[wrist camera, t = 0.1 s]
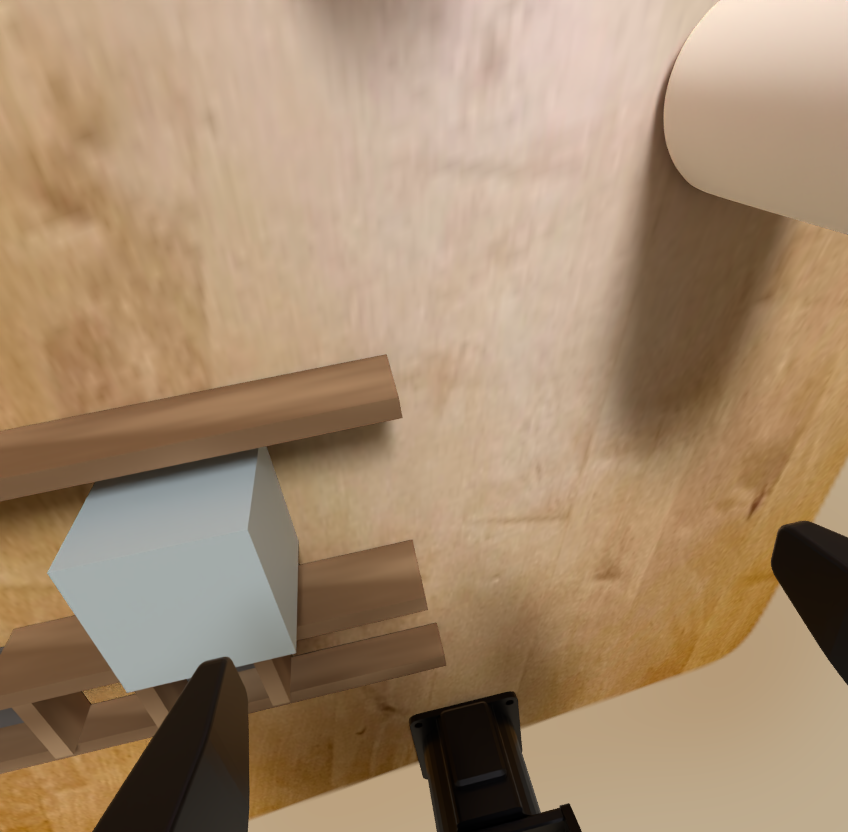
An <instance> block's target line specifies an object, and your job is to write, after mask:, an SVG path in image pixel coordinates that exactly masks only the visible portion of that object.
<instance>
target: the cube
mask: <svg viewBox="0 0 848 832" xmlns="http://www.w3.org/2000/svg"><path fill="white" fill-rule="evenodd" d="M298 546H299V541H298V538H297V535H296V532H295V529H294V526H293V523H292V520H291V517H290V514H289V511H288V508H287V505H286V502H285V499H284V497H283V494H282V491H281V488H280V485H279V482H278V479H277V476H276V473H275V470H274V467H273V464H272V461H271V458H270V455H269V452H268V449H267V446H265V447H260V448H255V449H250V450H245V451H241V452H236V453H231V454H226V455H221V456H217V457H212V458H207V459H202V460H197V461H193V462H188V463H183V464H178V465H173V466H168V467H164V468H159V469H154V470H149V471H144V472H140V473H135V474H130V475H125V476H120V477H116V478H111V479H106V480H101V481H96V482H95V483H94V485H93V487H92V489H91V491H90V493H89V495H88V497H87V498H86V500H85V502H84V504H83V506H82V508H81V510H80V512H79V514H78V516H77V517H76V519H75V521H74V523H73V525H72V527H71V529H70V531H69V533H68V534H67V536H66V538H65V540H64V542H63V544H62V546H61V548H60V550H59V552H58V553H57V555H56V557H55V559H54V561H53V563H52V565H51V567H50V569H49V570H48V572H47V574H48V575H49V577H50V578H51V580H52V581H53V583H54V584H55V586H56V587H57V589H58V590H59V591H60V593H61V594H62V596H63V597H64V599H65V600H66V602H67V603H68V605H69V606H70V608H71V609H72V611H73V612H74V614H75V615H76V617H77V618H78V620H79V621H80V623H81V624H82V626H83V627H84V629H85V630H86V632H87V633H88V635H89V636H90V638H91V639H92V641H93V642H94V644H95V645H96V647H97V648H98V650H99V651H100V653H101V654H102V656H103V657H104V659H105V660H106V662H107V663H108V665H109V666H110V668H111V669H112V671H113V672H114V674H115V675H116V677H117V678H118V680H119V681H120V683H121V684H122V686H123V687H124V689H125V690H126V692H127V693H128V692H133V691H137V690H141V689H145V688H150V687H154V686H158V685H162V684H167V683H171V682H175V681H179V680H184V679H188V678H191V677H192V675H193V674H194V672H195V671H196V669H197V668H198V666H199V665H200V664H201V663H203V662H204V661H207V660H211V659H216V658H220V657H224V656H225V657H226V656H227V657H229V658H230V659H231V660H232V661H233V663H234V665H235V667H239V666H243V665H248V664H252V663H256V662H260V661H265V660H269V659H273V658H277V657H282V656H286V655H290V654H294V653H296V637H297V592H298Z"/></svg>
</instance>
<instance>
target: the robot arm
mask: <svg viewBox="0 0 848 832" xmlns="http://www.w3.org/2000/svg"><path fill="white" fill-rule="evenodd" d="M771 567H772V570H773V573H774V575H775V577H776V579H777V580H778V582H779V583H780V585H781V586H782V588H783V590H784V591H785V593H786V594H787V595H788V597H789V599H790V601H791V602H792V604H793V605H794V607H795V608H796V610H797V612H798V613H799V615H800V616H801V618H802V619H803V621H804V623H805V624H806V626H807V628H808V629H809V631H810V632H811V634H812V635H813V637H814V638H815V640H816V642H817V643H818V645H819V646H820V648H821V649H822V651H823V652H824V654H825V655H826V657H827V658H828V660H829V661H830V662H831V664H832V665H833V666H834V668H835V669H836V670H837V672H838V673H839V675H840V676H841V677H842V678H843V680H844V681H845V682H846V683H847V685H848V537H845V536H843V535H841V534H838V533H836V532H834V531H831V530H829V529H826V528H824V527H822V526H819V525H817V524H815V523H812V522H809V521H799V522H795V523H790V524H786V525H783V526H781V527H780V528H779V530H778V532H777V537H776V541H775V545H774V549H773V553H772V558H771ZM409 723H410V729H411V733H412V736H413V740H414V744H415V748H416V752H417V756H418V760H419V763H420V767H421V771H422V775H423V778H425V779H428V782H429V788H430V794H431V799H432V805H433V811H434V817H435V823H436V829H437V832H582V831H581V829H580V826H579V824H578V822H577V820H576V817H575V815H574V813H573V810H572V808H571V806H570V804H569V803H568V804H565V805H561V806H560V808H557V809H553V810H550V811H546V812H542V813H541V812H540V809H539V806H538V802H537V799H536V796H535V793H534V790H533V786H532V783H531V780H530V777H529V774H528V771H527V768H526V764H525V761H524V758H523V755H522V743H521V731H520V720H519V708H518V699H517V697H516V694H515V693H514V692H511V691H510V692H505V693H501V694H497V695H493V696H489V697H485V698H480V699H476V700H472V701H468V702H464V703H460V704H456V705H452V706H448V707H444V708H440V709H436V710H432V711H428V712H424V713H420V714H416V715H413V716H412V717H411V718H410V719H409ZM248 819H249V728H248V696H247V691H246V688H245V686H244V684H243V682H242V680H241V677H240V675H239V673H238V671H237V669H236V667H235V665H234V663H233V661H232V660H231V659H230V658H229V657H227V656H226V657H225V656H224V657H220V658H216V659H211V660H207V661H204V662H203V663H201V664H200V665H199V666H198V668H197V669H196V671H195V672H194V674H193V675H192V677H191V678H190V680H189V682H188V683H187V685H186V686H185V688H184V689H183V691H182V692H181V694H180V696H179V697H178V699H177V700H176V702H175V703H174V705H173V707H172V708H171V710H170V711H169V713H168V714H167V716H166V717H165V719H164V721H163V722H162V724H161V725H160V727H159V728H158V730H157V731H156V733H155V735H154V736H153V738H152V739H151V741H150V742H149V744H148V746H147V747H146V749H145V750H144V752H143V753H142V755H141V756H140V758H139V760H138V761H137V763H136V764H135V766H134V767H133V769H132V771H131V772H130V774H129V775H128V777H127V778H126V780H125V781H124V783H123V785H122V786H121V788H120V789H119V791H118V792H117V794H116V795H115V797H114V799H113V800H112V802H111V803H110V805H109V806H108V808H107V810H106V811H105V813H104V814H103V816H102V817H101V819H100V820H99V822H98V824H97V825H96V827H95V828H94V830H93V831H92V832H248Z"/></svg>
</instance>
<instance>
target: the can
mask: <svg viewBox="0 0 848 832" xmlns="http://www.w3.org/2000/svg"><path fill="white" fill-rule="evenodd" d="M664 134H665V140H666V144H667V148H668V151H669V154H670V157H671V159H672V161H673V163H674V165H675V166H676V168H677V170H678V171H679V172H680V174H681V175H682V176H683V177H684V179H685V180H686V181H687V182H688V183H689V184H691V185H692V186H694V187H695V188H697V189H699V190H701V191H704V192H706V193H709V194H712V195H715V196H718V197H722V198H725V199H728V200H731V201H735V202H738V203H741V204H745V205H748V206H751V207H755V208H758V209H761V210H765V211H768V212H772V213H775V214H778V215H782V216H785V217H789V218H792V219H796V220H799V221H802V222H806V223H809V224H813V225H816V226H820V227H823V228H826V229H830V230H833V231H837V232H840V233H844V234H847V235H848V0H720V1H719V2H718V3H716V4H715V5H714V6H713V7H712V8H711V9H710V10H709V11H708V12H707V13H706V14H705V16H704V17H703V18H702V19H701V20H700V22H699V23H698V24H697V25H696V27H695V28H694V30H693V31H692V32H691V34H690V35H689V37H688V39H687V40H686V42H685V44H684V45H683V47H682V49H681V51H680V53H679V55H678V57H677V60H676V62H675V64H674V67H673V70H672V73H671V76H670V79H669V82H668V86H667V91H666V96H665V103H664Z"/></svg>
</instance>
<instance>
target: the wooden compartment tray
mask: <svg viewBox="0 0 848 832" xmlns="http://www.w3.org/2000/svg"><path fill="white" fill-rule="evenodd" d="M399 418H402V413H401V407H400V402H399V397H398V393H397V390H396V386H395V383H394V379H393V376H392V372H391V369H390V365H389V362H388V358H387V355H381V356H376V357H371V358H366V359H361V360H356V361H351V362H346V363H341V364H336V365H331V366H326V367H321V368H316V369H311V370H306V371H301V372H296V373H291V374H286V375H281V376H276V377H270V378H265V379H260V380H255V381H250V382H245V383H240V384H235V385H230V386H225V387H220V388H215V389H210V390H205V391H200V392H195V393H190V394H185V395H180V396H175V397H170V398H165V399H160V400H155V401H150V402H145V403H140V404H135V405H130V406H125V407H120V408H115V409H109V410H104V411H99V412H94V413H89V414H84V415H79V416H74V417H69V418H64V419H59V420H54V421H49V422H44V423H39V424H34V425H29V426H24V427H19V428H14V429H9V430H4V431H0V501H5V500H10V499H14V498H19V497H24V496H29V495H34V494H39V493H43V492H48V491H53V490H58V489H63V488H67V487H72V486H77V485H82V484H87V483H91V482H96V481H101V480H106V479H111V478H116V477H120V476H125V475H130V474H135V473H140V472H144V471H149V470H154V469H159V468H164V467H168V466H173V465H178V464H183V463H188V462H193V461H197V460H202V459H207V458H212V457H217V456H221V455H226V454H231V453H236V452H241V451H245V450H250V449H255V448H260V447H265V446H270V445H274V444H279V443H284V442H289V441H294V440H298V439H303V438H308V437H313V436H318V435H322V434H327V433H332V432H337V431H342V430H347V429H351V428H356V427H361V426H366V425H371V424H375V423H380V422H385V421H390V420H395V419H399ZM425 610H428V608H427V603H426V598H425V593H424V589H423V584H422V580H421V575H420V571H419V567H418V562H417V558H416V553H415V549H414V545H413V540H409V541H405V542H400V543H396V544H391V545H387V546H382V547H378V548H373V549H369V550H364V551H360V552H356V553H351V554H347V555H342V556H338V557H333V558H329V559H324V560H320V561H315V562H311V563H307V564H302V565H298V592H297V637H296V641H298V640H302V639H306V638H310V637H315V636H319V635H323V634H327V633H332V632H336V631H340V630H344V629H349V628H353V627H357V626H361V625H366V624H370V623H374V622H379V621H383V620H387V619H391V618H396V617H400V616H404V615H408V614H413V613H417V612H421V611H425ZM443 666H446V661H445V656H444V652H443V647H442V643H441V639H440V635H439V630H438V626H437V623H434V624H430V625H426V626H421V627H417V628H413V629H409V630H404V631H400V632H396V633H392V634H388V635H383V636H379V637H375V638H371V639H366V640H362V641H358V642H354V643H349V644H345V645H341V646H337V647H333V648H328V649H324V650H320V651H316V652H311V653H307V654H303V655H299V656H295V657H291V655H286V656H282V657H277V658H273V659H269V660H265V661H260V662H256V663H252V664H248V665H243V666H239V667H236V669H237V671H238V673H239V675H240V677H241V680H242V682H243V684H244V686H245V688H246V691H247V696H248V714H249V713H253V712H257V711H261V710H265V709H270V708H274V707H278V706H282V705H286V704H290V703H294V702H298V701H303V700H307V699H311V698H315V697H319V696H323V695H327V694H331V693H336V692H340V691H344V690H348V689H352V688H356V687H360V686H364V685H368V684H373V683H377V682H381V681H385V680H389V679H393V678H397V677H401V676H406V675H410V674H414V673H418V672H422V671H426V670H430V669H434V668H439V667H443ZM189 680H190V678H188V679H184V680H179V681H175V682H171V683H167V684H162V685H158V686H154V687H150V688H145V689H141V690H137V691H134V692H135V693H136V694H134V695H130V696H125V697H121V698H117V699H113V700H109V701H104V702H100V703H96V704H92V705H91V704H90V703H89V701H88V700H87V699H86V697H85V696H84V694H83V693H82V692H81V691H84V690H89V689H93V688H97V687H101V686H106V685H110V684H114V683H118V682H120V681H119V680H118V678H117V677H116V675H115V674H114V672H113V671H112V669H111V668H110V666H109V665H108V663H107V662H106V660H105V659H104V657H103V656H102V654H101V653H100V651H99V650H98V648H97V647H96V645H95V644H94V642H93V641H92V639H91V638H90V636H89V635H88V633H87V632H86V630H85V629H84V627H83V626H82V624H81V623H80V621H79V620H78V618H77V617H76V615H75V616H71V617H66V618H62V619H57V620H53V621H48V622H44V623H39V624H35V625H30V626H26V627H22V628H17V629H14V630H13V632H12V634H11V635H10V637H9V639H8V641H7V643H6V645H5V647H1V648H0V774H2V773H6V772H10V771H14V770H18V769H22V768H26V767H31V766H35V765H39V764H43V763H47V762H51V761H55V760H59V759H64V758H68V757H72V756H76V755H80V754H84V753H88V752H92V751H97V750H101V749H105V748H109V747H113V746H117V745H121V744H125V743H129V742H134V741H138V740H142V739H146V738H150V737H153V736H154V735H155V733H156V731H157V730H158V728H159V727H160V725H161V724H162V722H163V721H164V719H165V717H166V716H167V714H168V713H169V711H170V710H171V708H172V707H173V705H174V703H175V702H176V700H177V699H178V697H179V696H180V694H181V692H182V691H183V689H184V688H185V686H186V685H187V683H188V682H189Z"/></svg>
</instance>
